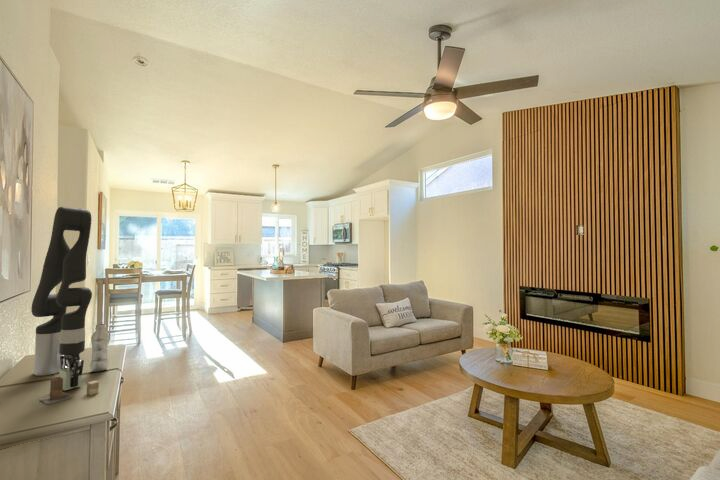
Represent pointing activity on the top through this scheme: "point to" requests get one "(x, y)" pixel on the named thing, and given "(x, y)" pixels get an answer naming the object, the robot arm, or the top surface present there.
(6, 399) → the top surface
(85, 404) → the top surface
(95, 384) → the maple post
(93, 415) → the top surface
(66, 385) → the pale green eraser block
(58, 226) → the robot arm
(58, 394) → the walnut post
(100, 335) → the plastic bottle
